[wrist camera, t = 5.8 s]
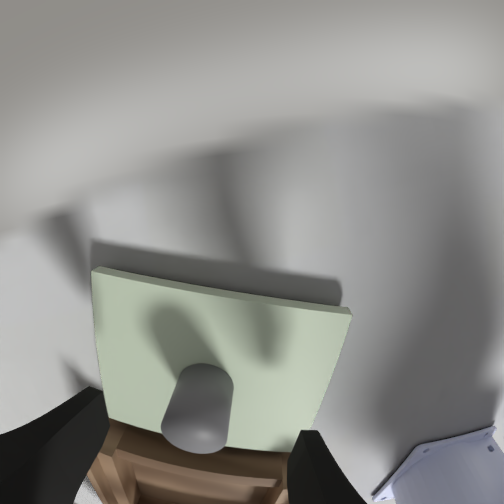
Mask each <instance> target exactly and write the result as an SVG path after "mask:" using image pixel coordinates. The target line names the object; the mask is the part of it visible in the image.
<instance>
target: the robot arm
mask: <svg viewBox="0 0 504 504" xmlns="http://www.w3.org/2000/svg"><path fill="white" fill-rule="evenodd" d="M109 428H110V423H109V419H108V414H107V410H106V405H105V400H104V395H103V391H101V390H98V389H95V388H92V387H90V386H89V387H87V388H86V389H84V390H82V391H81V392H79V393H78V394H76V395H75V396H73V397H72V398H70V399H69V400H67V401H66V402H64V403H62V404H61V405H59V406H58V407H56V408H54V409H53V410H51V411H50V412H48V413H46V414H44V415H43V416H41V417H39V418H37V419H35V420H33V421H31V422H30V423H28V424H26V425H23V426H21V427H19V428H17V429H14V430H12V431H9V432H6V433H4V434H0V504H73V502H74V500H75V497H76V494H77V492H78V490H79V488H80V486H81V484H82V482H83V480H84V478H85V476H86V475H87V473H88V471H89V469H90V468H91V466H92V464H93V462H94V460H95V459H96V457H97V455H98V453H99V451H100V450H101V448H102V446H103V443H104V441H105V438H106V436H107V433H108V430H109ZM496 429H497V428H496V427H495V426H492V427H489V428H485V429H482V430H479V431H476V432H472V433H469V434H465V435H461V436H457V437H453V438H449V439H445V440H440V441H435V442H430V443H425V444H421V445H418V446H417V447H416V448H415V449H414V450H413V451H412V452H411V454H410V455H409V456H408V457H407V459H406V460H405V461H404V462H403V464H402V465H401V466H400V467H399V469H398V470H397V471H396V472H395V473H394V474H393V476H392V477H391V478H390V479H389V480H388V481H387V482H386V484H385V485H384V486H383V487H382V488H381V489H380V490H379V491H378V492H377V493H376V494H375V495H374V496H373V498H372V500H373V502H378V501H383V500H388V499H393V498H395V501H396V504H504V453H503V452H502V450H501V449H500V447H499V446H498V444H497V443H496V442H495V440H494V439H493V437H492V435H493V434H494V433H495V431H496ZM287 490H288V499H289V504H367V503H366V502H365V501H364V500H363V498H362V497H361V496H360V495H359V494H358V492H357V491H356V490H355V489H354V487H353V486H352V485H351V483H350V482H349V481H348V479H347V478H346V476H345V475H344V473H343V472H342V470H341V469H340V467H339V466H338V464H337V463H336V461H335V459H334V458H333V456H332V454H331V453H330V451H329V449H328V448H327V446H326V444H325V442H324V440H323V438H322V437H321V435H320V433H319V432H318V430H301V431H300V433H299V435H298V438H297V440H296V442H295V445H294V447H293V449H292V451H291V454H290V456H289V458H288V460H287Z"/></svg>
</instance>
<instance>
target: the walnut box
mask: <svg viewBox="0 0 504 504" xmlns="http://www.w3.org/2000/svg"><path fill="white" fill-rule="evenodd" d="M108 419H109V423H110V428H109V430H108V433H107V436H106V438H105V441H104V443H103V446H102V448H101V450H100V451H99V453H98V455H97V457H96V459H95V460H94V462H93V464H92V466H91V468H90V469H89V471H88V473H87V476H88V478H89V480H90V482H91V484H92V486H93V487H94V489H95V491H96V493H97V494H98V496H99V498H100V500H101V501H102V503H103V504H289V499H288V490H287V460H288V458H289V456H290V454H291V452H276V451H263V450H252V449H243V448H235V447H228V446H224V447H223V448H222V449H221V450H219V451H216V452H213V453H207V454H199V453H192V452H188V451H185V450H182V449H180V448H178V447H176V446H174V445H173V444H171V443H170V442H169V441H168V440H167V439H166V438H165V437H164V435H163V434H162V433H158V432H154V431H150V430H147V429H143V428H140V427H136V426H133V425H130V424H127V423H124V422H120V421H117V420H114V419H111V418H109V416H108Z"/></svg>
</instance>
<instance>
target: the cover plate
mask: <svg viewBox="0 0 504 504" xmlns="http://www.w3.org/2000/svg"><path fill="white" fill-rule="evenodd" d="M91 284H92V304H93V317H94V328H95V338H96V346H97V354H98V361H99V368H100V375H101V380H102V386H103V392H104V397H105V402H106V407H107V411H108V416H109V418H111V419H114V420H117V421H120V422H124V423H127V424H130V425H133V426H136V427H140V428H143V429H147V430H150V431H154V432H158V433H162V434H163V435H164V437H165V438H166V439H167V440H168V441H169V442H170V443H171V444H173V445H174V446H176V447H178V448H180V449H182V450H185V451H188V452H192V453H199V454H207V453H213V452H216V451H219V450H221V449H222V448H223V447H224V446H228V447H235V448H243V449H252V450H263V451H276V452H291V451H292V449H293V447H294V445H295V442H296V440H297V438H298V435H299V433H300V431H301V430H310V428H311V426H312V424H313V421H314V419H315V417H316V414H317V412H318V410H319V407H320V405H321V402H322V400H323V398H324V395H325V393H326V390H327V387H328V385H329V382H330V380H331V377H332V374H333V372H334V369H335V366H336V363H337V361H338V358H339V355H340V352H341V349H342V346H343V343H344V340H345V337H346V334H347V331H348V328H349V325H350V322H351V319H352V313H351V312H350V310H349V308H348V307H340V306H332V305H324V304H316V303H309V302H301V301H294V300H287V299H280V298H273V297H266V296H260V295H253V294H247V293H241V292H234V291H228V290H222V289H216V288H210V287H204V286H199V285H193V284H187V283H182V282H176V281H171V280H166V279H160V278H155V277H150V276H145V275H140V274H135V273H130V272H125V271H120V270H115V269H110V268H106V267H101V266H99V267H97V268H95V269H94V270H92V271H91Z"/></svg>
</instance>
